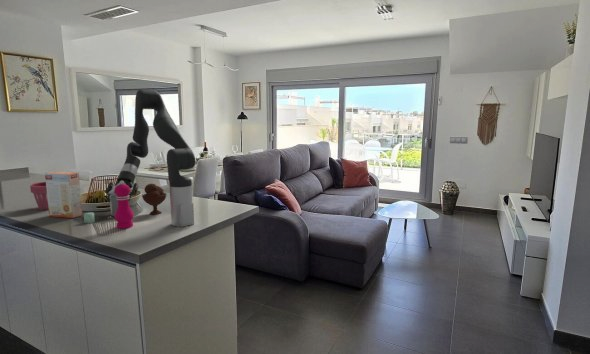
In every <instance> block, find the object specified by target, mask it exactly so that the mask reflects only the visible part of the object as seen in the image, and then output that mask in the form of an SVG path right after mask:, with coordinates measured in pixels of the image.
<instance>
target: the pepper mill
mask: <svg viewBox="0 0 590 354" xmlns="http://www.w3.org/2000/svg"><path fill="white" fill-rule="evenodd" d="M114 192H115V194H116V195H117V196H116V197H117V198H116V199H117V200H118V208H117V210H116V213H115V216H114V220H115V221H116V222H117V223H116V228H117V229H120V230H122V229H124V230H125V229H129V228H131V227H133V226H134V222H133V219H134V216H135V215H134V212H133V210H132V209H131V206H130V201H129V195H128V194H129V193H130V192H131V189H130V187H129V186H128V185H126V184H124V181H120V185H117V186H116V187H115V189H114Z"/></svg>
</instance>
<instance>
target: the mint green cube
mask: <svg viewBox="0 0 590 354" xmlns="http://www.w3.org/2000/svg"><path fill="white" fill-rule="evenodd" d="M95 218H96V217H95V213H94V212H84V213H83V220H84V221H83V222H84V224H86V223H88V224H92V223H94V224H95V222H96V221H95V220H96V219H95Z"/></svg>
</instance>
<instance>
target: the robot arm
mask: <svg viewBox="0 0 590 354" xmlns="http://www.w3.org/2000/svg"><path fill="white" fill-rule="evenodd" d="M134 98H135V101H134V127H133V134H132V140H133V141H131V142H129V143H128V144H127V146H126V159H125V161H124V164H123V166H122V167H121V169H120V172H119V174H118V176H117V179H116V182H115V183H112V182H109V184H108V185H107V188H106V190H105V191H104V192H105V193H106V194H107V197H106V201H107V202H108V203H110V197H109V196H110V194H113V193H115V192H114V189H115V187H116V186H117V185H120V181H124V184H126V185H128V186H129V187H130V190H131V191H130V193H129V194H128V195H129V202H130V201H131V198H132V197H133V196H134V197H135V196H137V194H138V189H139V185H138V184H137V183H136V182H135V180H136V177H137V174H138V170H139V167H140V165H141V159H140V158H142V159H144V158H146V157H147V156H148V154H149V146H148V137H149V132H150V127H149V124H148V121H147V120H146V118H145V117H144V114H143V111H144V110H155V111H156V114H155V116H154V118H153V121H152V127H153V129H154V131H155V133H156V135H157V136H158V138H159V139H160V140H161V141H163V142H164V143H166V144H167V145H169V146H170V147H172V148H170V149H169V150H168V151H167V152H166V166H167V168H166V169H167V177H168V183H169V199H170V203H169V204H170V220H171V222H170V223H171V226H174V227H181V228H183V227H187V226H191V225H194V224H195V214H194V213H195V211H194V209H195V208H194V203H193V185H192V184H193V183H192V178H190V177H188V176H183V175H181V173H180V171H185V170H186V171H187V170H191V169H194V168H195V165H196V157H195V154H194V152H193V150H192V149H191V146H190V145H188V142H186V140H185V139H184V137H183V135H182V134H181V133H180V131H179V129H178V127H177V125H176V123H175V121H174V119H173V118H172V117H171V115H170V113H169V111H168V109H167V107H166V105H165V101H164V99H163V96H162V95H161V93H160V92H159V91H157V90H152V89H138V90H137V91H136V94H135V97H134Z"/></svg>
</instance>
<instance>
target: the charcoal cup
mask: <svg viewBox="0 0 590 354" xmlns="http://www.w3.org/2000/svg"><path fill="white" fill-rule="evenodd" d="M116 196H117V195H116V194H115V193H113V194H110V196H109V197H110V202H109V205H110V206H109V208H110V216H111V217H115V213H116V210H117V208H118V200H117V199H116V198H117V197H116Z"/></svg>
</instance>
